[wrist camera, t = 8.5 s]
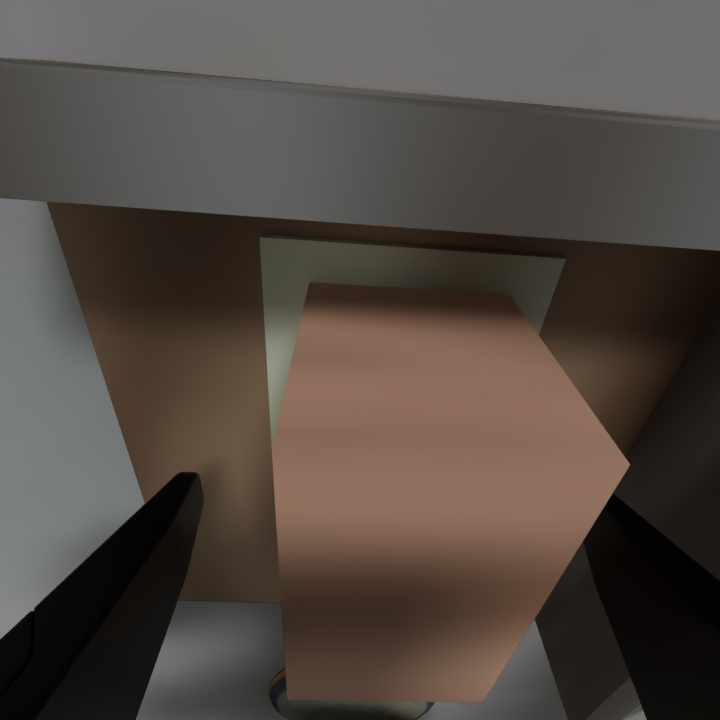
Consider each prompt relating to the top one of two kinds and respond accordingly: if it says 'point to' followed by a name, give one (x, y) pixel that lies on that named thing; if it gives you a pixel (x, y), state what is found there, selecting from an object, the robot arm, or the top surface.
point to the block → (425, 491)
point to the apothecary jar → (341, 707)
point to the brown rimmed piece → (378, 282)
